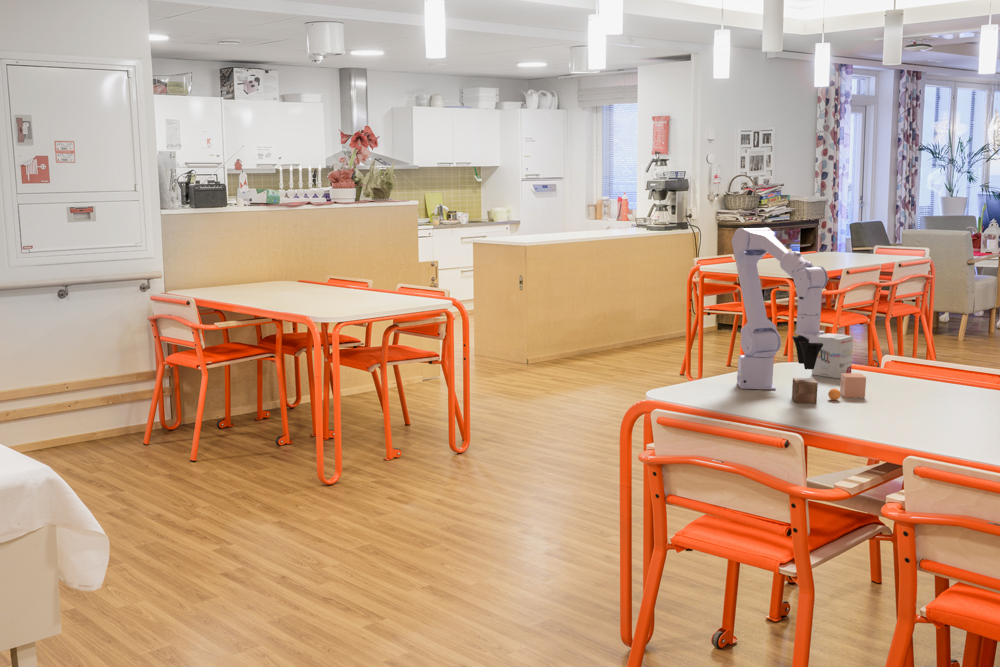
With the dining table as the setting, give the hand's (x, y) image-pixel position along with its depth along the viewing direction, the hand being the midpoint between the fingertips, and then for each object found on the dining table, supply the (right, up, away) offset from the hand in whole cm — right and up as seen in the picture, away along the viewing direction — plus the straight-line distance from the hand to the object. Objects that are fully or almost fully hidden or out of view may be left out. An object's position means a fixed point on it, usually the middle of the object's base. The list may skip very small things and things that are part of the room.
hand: (806, 366), depth 242 cm
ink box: (+19, -4, +35) cm, 40 cm away
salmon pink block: (+15, -8, +8) cm, 19 cm away
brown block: (0, -9, +1) cm, 9 cm away
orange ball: (+8, -9, +3) cm, 12 cm away
